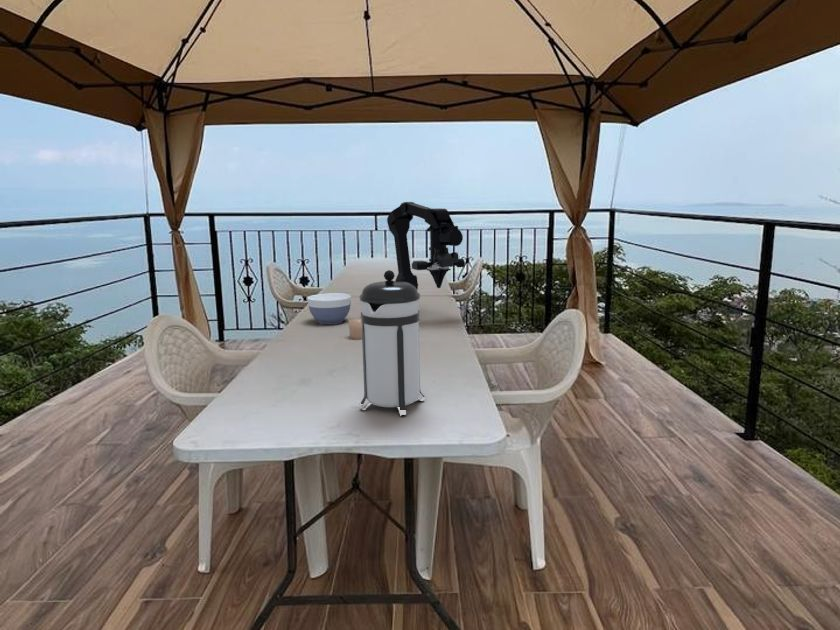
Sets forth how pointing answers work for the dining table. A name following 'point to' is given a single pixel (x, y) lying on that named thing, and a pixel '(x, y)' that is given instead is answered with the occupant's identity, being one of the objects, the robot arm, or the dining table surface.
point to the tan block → (355, 328)
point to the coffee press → (390, 343)
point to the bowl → (329, 307)
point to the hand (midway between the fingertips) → (438, 287)
